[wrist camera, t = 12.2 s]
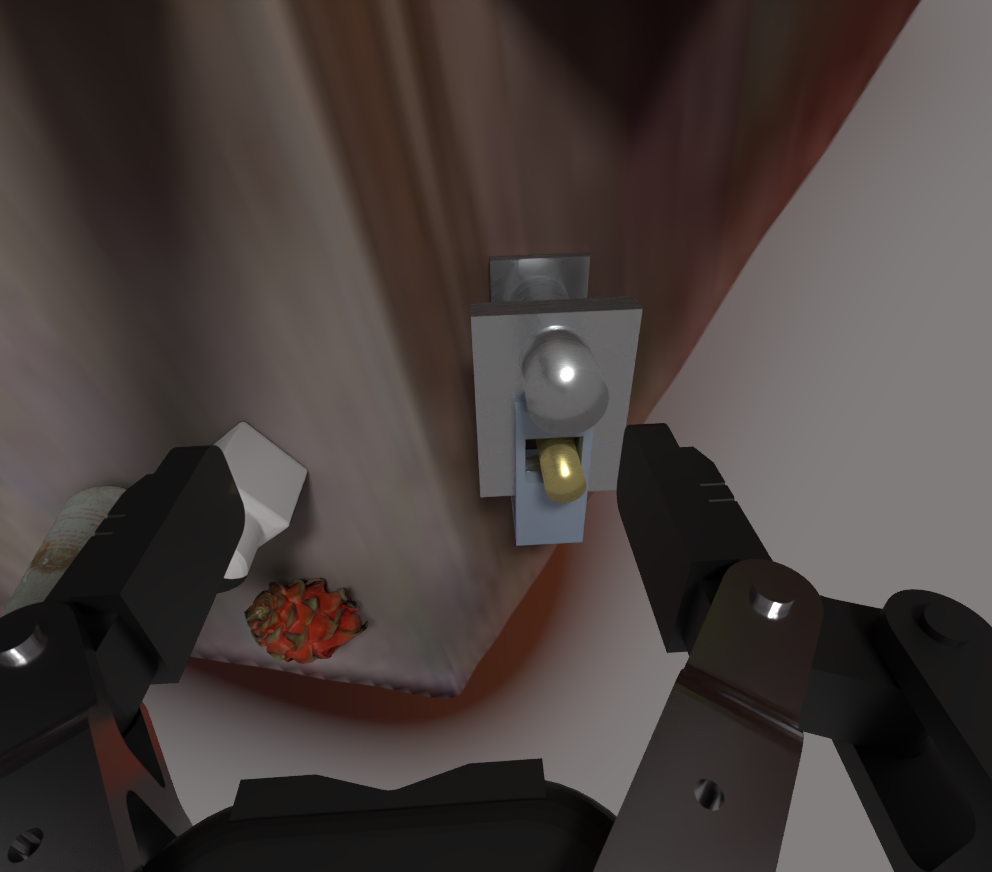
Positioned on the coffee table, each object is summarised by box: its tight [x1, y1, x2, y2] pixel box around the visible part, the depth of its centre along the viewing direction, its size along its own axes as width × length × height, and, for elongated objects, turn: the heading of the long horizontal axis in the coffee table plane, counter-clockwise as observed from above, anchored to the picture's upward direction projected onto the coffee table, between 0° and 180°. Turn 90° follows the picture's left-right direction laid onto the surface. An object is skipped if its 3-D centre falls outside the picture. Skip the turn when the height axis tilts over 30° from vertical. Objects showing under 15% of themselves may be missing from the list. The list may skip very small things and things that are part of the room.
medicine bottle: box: [213, 422, 307, 593], centre depth 44 cm, size 7×7×12 cm
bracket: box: [511, 402, 594, 546], centre depth 42 cm, size 5×12×10 cm, turn 1°
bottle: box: [0, 486, 127, 618], centre depth 40 cm, size 9×9×28 cm
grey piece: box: [470, 253, 642, 497], centre depth 38 cm, size 10×14×14 cm
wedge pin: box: [535, 437, 586, 503], centre depth 40 cm, size 3×3×13 cm
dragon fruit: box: [244, 578, 368, 664], centre depth 56 cm, size 8×8×12 cm
